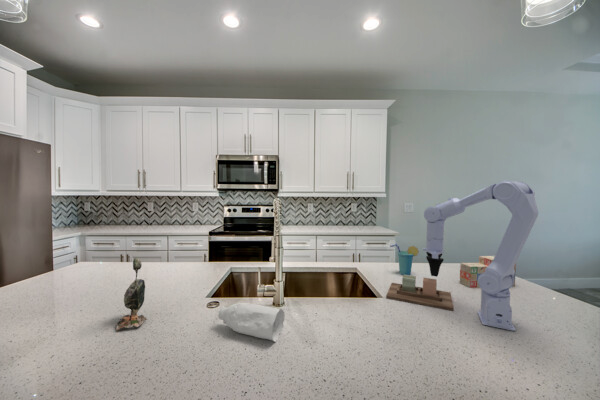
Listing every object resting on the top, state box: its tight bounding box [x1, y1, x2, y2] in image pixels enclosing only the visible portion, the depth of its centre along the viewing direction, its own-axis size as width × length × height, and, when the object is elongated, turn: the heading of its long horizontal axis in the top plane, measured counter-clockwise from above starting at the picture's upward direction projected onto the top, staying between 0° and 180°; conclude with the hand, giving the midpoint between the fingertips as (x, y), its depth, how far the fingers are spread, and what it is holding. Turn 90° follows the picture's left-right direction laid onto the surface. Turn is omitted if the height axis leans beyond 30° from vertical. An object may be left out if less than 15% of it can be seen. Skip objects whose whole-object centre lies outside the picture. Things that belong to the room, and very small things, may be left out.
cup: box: [389, 243, 420, 276], centre depth 125 cm, size 14×8×15 cm, turn 94°
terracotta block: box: [422, 276, 438, 297], centre depth 96 cm, size 4×4×6 cm
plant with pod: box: [115, 257, 147, 331], centre depth 75 cm, size 8×11×20 cm
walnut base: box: [385, 275, 455, 312], centre depth 98 cm, size 16×22×7 cm
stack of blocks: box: [459, 255, 517, 289], centre depth 111 cm, size 21×6×12 cm, turn 96°
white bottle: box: [218, 302, 285, 343], centre depth 71 cm, size 8×19×8 cm, turn 69°
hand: (434, 273), depth 97 cm, fingers open, 7 cm apart
